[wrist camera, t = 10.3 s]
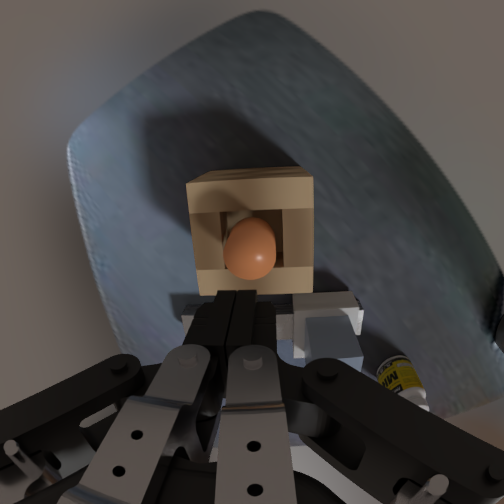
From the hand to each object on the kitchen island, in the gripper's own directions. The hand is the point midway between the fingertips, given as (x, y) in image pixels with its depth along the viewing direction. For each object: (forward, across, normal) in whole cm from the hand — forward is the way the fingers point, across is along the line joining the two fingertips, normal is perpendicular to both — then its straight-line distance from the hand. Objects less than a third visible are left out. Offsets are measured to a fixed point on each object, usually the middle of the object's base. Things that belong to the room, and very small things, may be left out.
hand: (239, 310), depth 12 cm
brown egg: (+9, 0, 0) cm, 9 cm away
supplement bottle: (+17, -16, +20) cm, 31 cm away
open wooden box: (+17, 0, 0) cm, 17 cm away
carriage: (+17, -6, +11) cm, 21 cm away
